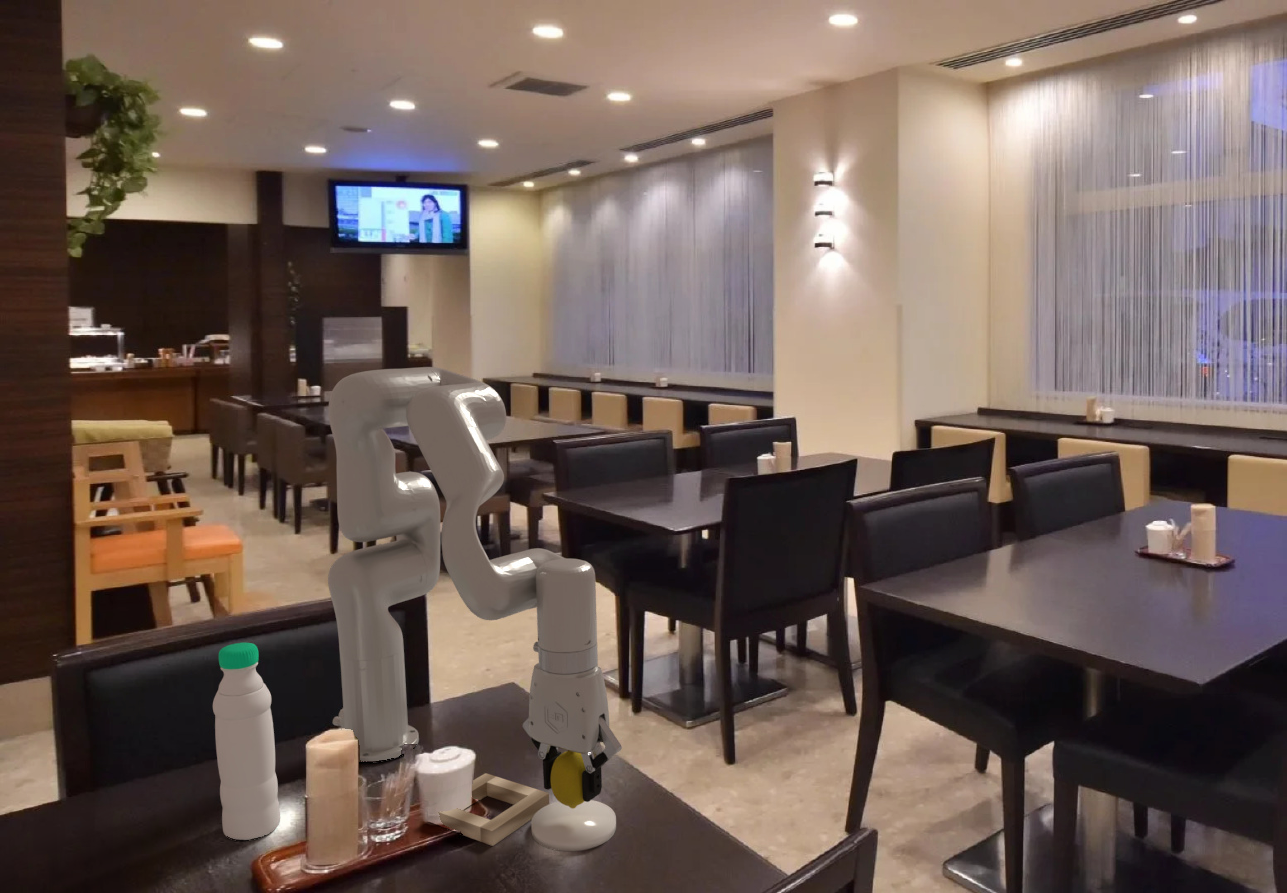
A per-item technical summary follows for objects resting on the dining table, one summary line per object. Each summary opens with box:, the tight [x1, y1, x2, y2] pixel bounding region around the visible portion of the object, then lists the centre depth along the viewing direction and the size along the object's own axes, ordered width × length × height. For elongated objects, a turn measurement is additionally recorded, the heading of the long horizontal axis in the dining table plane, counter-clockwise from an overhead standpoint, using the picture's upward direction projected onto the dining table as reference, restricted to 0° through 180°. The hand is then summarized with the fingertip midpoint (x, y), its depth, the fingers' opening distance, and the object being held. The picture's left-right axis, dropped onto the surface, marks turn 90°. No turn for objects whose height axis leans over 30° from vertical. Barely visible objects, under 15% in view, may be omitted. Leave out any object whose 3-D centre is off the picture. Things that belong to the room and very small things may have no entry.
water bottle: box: [212, 642, 281, 839], centre depth 127 cm, size 7×7×25 cm
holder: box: [438, 772, 550, 847], centre depth 131 cm, size 12×12×2 cm
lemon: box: [551, 750, 586, 809], centre depth 126 cm, size 6×6×8 cm
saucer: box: [530, 799, 617, 852], centre depth 127 cm, size 11×11×1 cm
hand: (572, 789), depth 127 cm, fingers closed on lemon, 5 cm apart
